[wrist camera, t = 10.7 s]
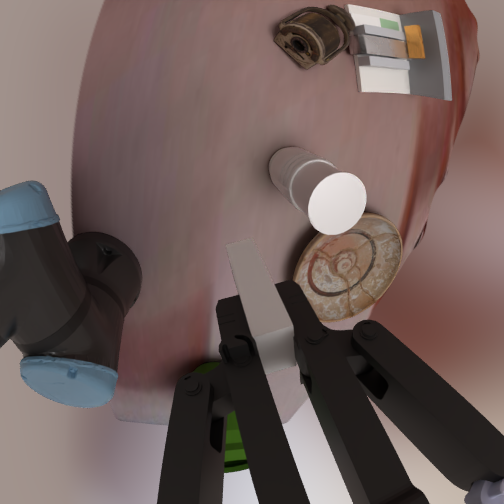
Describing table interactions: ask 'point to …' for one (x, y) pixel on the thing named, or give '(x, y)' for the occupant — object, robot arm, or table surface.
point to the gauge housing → (403, 71)
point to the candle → (318, 189)
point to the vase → (229, 434)
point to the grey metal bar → (389, 45)
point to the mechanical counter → (314, 35)
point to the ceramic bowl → (349, 267)
